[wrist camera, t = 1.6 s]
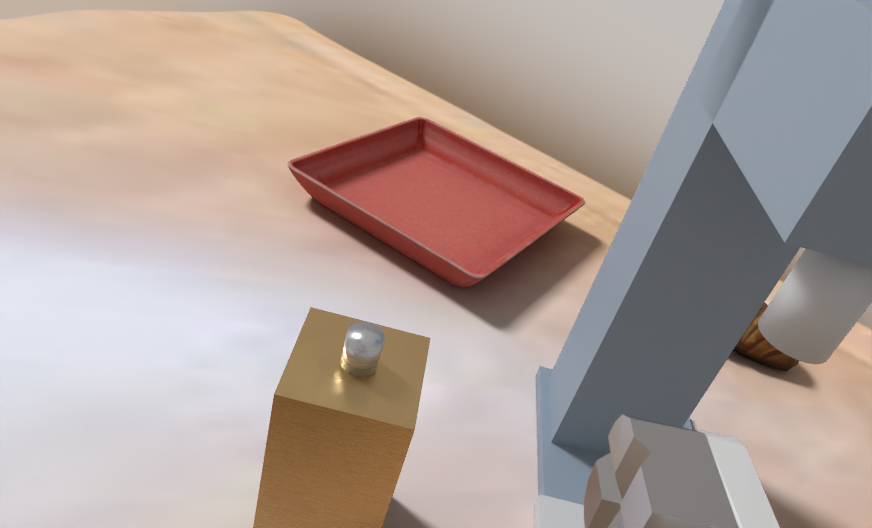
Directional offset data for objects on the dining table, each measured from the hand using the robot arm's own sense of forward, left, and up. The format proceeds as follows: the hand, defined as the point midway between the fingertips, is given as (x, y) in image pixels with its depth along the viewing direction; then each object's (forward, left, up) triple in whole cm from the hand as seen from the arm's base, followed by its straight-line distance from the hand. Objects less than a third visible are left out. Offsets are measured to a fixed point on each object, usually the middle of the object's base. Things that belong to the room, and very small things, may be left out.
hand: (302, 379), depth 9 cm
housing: (-11, +7, -22) cm, 25 cm away
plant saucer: (-36, +24, -22) cm, 49 cm away
